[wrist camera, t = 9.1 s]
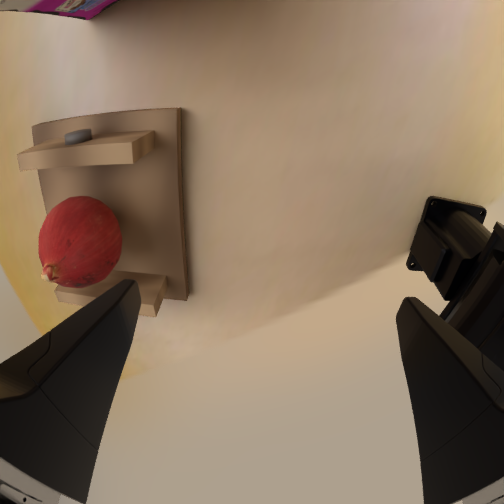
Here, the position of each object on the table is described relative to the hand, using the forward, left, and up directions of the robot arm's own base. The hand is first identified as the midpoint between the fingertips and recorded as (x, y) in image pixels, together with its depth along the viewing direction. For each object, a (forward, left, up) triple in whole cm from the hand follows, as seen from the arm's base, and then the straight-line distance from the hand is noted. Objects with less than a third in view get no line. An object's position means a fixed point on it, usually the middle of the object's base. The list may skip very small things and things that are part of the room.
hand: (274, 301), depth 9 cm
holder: (+12, +3, -12) cm, 17 cm away
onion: (+12, +3, -11) cm, 17 cm away
